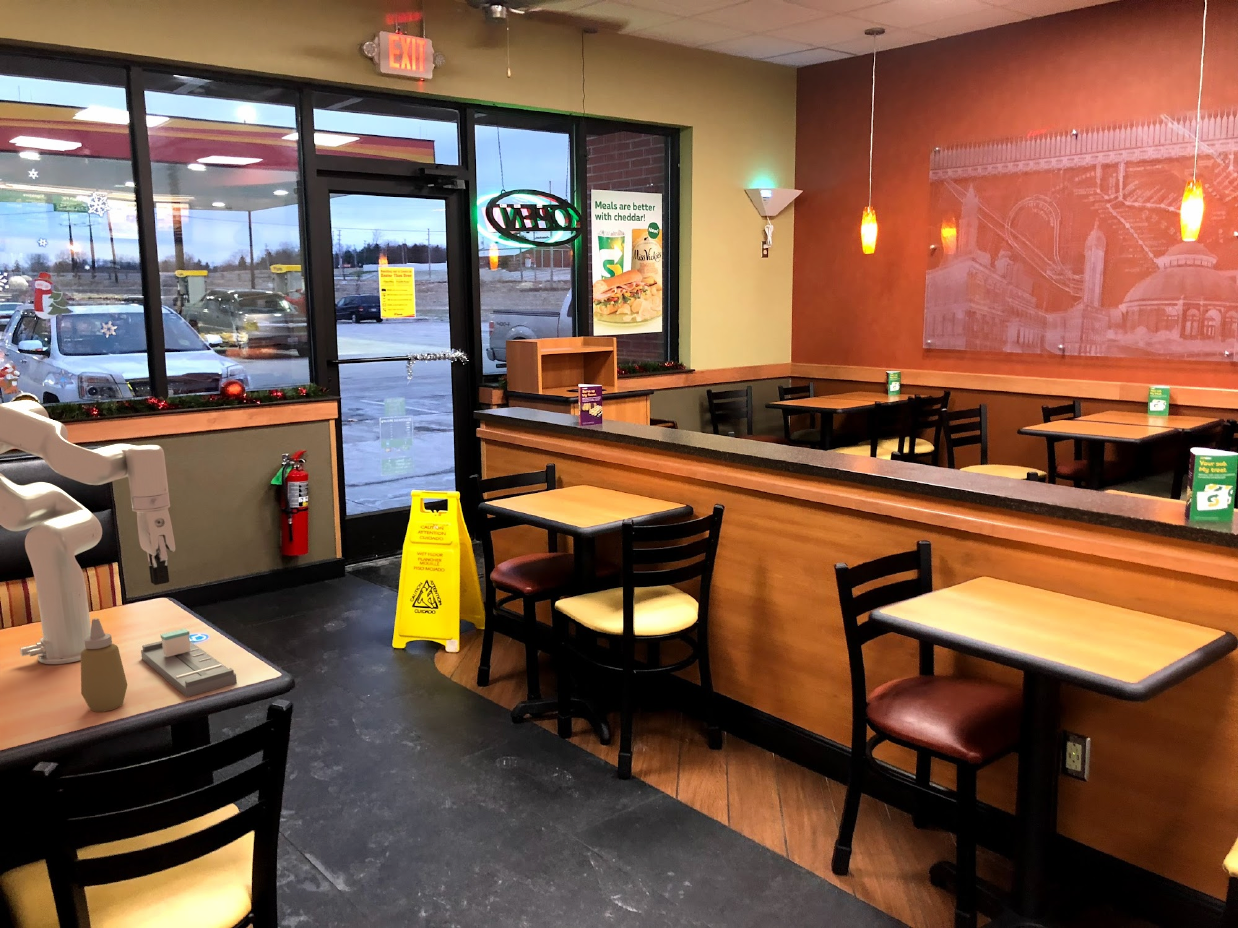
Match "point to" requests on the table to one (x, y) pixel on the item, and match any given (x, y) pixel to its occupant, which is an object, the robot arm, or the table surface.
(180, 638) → the fader knob
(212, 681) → the console board
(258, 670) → the table surface
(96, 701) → the squeeze bottle
